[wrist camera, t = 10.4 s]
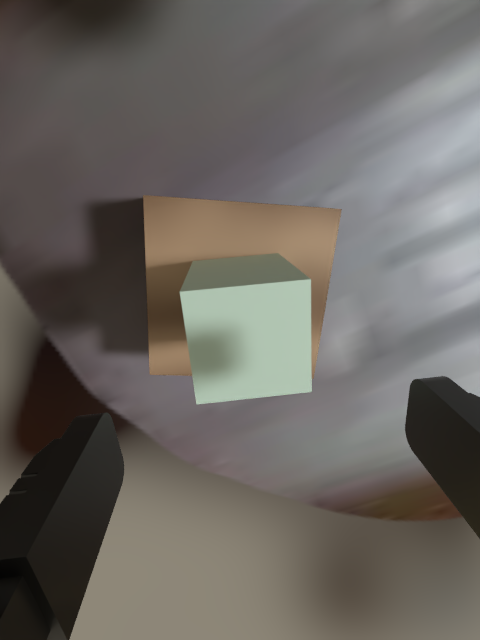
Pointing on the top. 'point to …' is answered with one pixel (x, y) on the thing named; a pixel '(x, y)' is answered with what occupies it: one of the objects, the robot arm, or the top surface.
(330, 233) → the tan block
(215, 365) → the sage block
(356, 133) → the top surface
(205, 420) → the top surface
